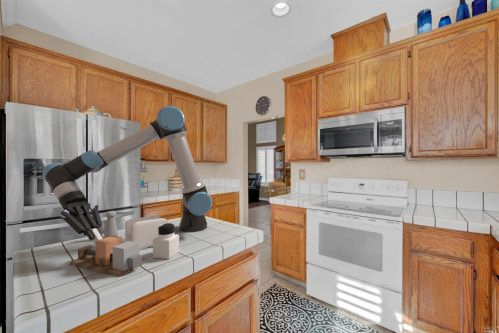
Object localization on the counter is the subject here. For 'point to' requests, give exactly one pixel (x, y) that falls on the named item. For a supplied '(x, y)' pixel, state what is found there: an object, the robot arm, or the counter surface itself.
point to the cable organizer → (143, 230)
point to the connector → (126, 255)
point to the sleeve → (106, 248)
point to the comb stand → (90, 263)
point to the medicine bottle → (165, 242)
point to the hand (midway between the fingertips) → (101, 245)
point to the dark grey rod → (94, 253)
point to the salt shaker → (110, 224)
